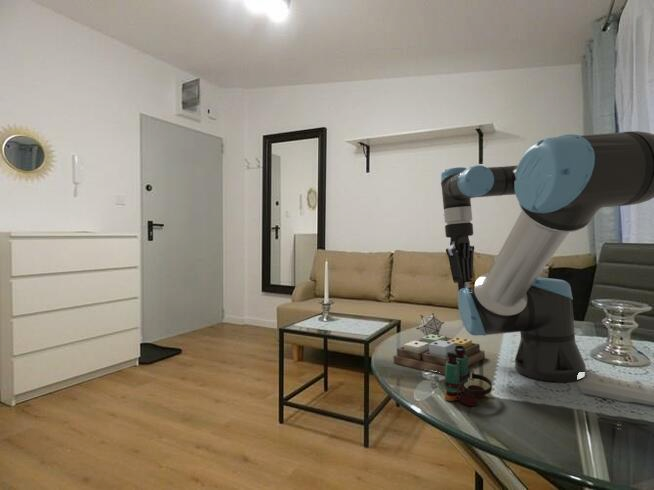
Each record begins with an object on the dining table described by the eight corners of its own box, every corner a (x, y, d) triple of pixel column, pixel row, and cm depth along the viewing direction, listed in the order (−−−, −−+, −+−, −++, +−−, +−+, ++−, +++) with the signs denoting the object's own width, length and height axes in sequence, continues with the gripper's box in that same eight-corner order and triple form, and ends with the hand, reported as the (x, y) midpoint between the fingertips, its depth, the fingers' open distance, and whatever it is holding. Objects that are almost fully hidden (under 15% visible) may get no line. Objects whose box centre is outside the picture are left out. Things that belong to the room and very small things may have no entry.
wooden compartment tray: (484, 357, 108) (483, 343, 108) (450, 376, 96) (449, 360, 96) (430, 347, 122) (429, 335, 121) (393, 362, 110) (392, 349, 110)
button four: (472, 350, 108) (471, 339, 108) (463, 354, 105) (462, 343, 105) (456, 347, 112) (455, 336, 112) (447, 351, 109) (446, 340, 109)
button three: (445, 346, 115) (445, 335, 114) (436, 350, 111) (435, 339, 111) (431, 343, 118) (430, 333, 118) (422, 347, 115) (421, 337, 115)
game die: (436, 348, 133) (445, 329, 127) (412, 340, 134) (420, 320, 128) (439, 330, 140) (447, 311, 134) (416, 322, 141) (423, 303, 135)
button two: (456, 353, 103) (455, 341, 102) (446, 358, 99) (445, 346, 99) (440, 350, 106) (439, 339, 106) (429, 355, 103) (428, 343, 103)
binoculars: (485, 363, 76) (437, 352, 82) (484, 415, 76) (436, 400, 83) (498, 351, 82) (453, 341, 89) (497, 398, 83) (452, 385, 90)
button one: (429, 353, 109) (428, 342, 109) (419, 358, 106) (418, 346, 106) (415, 350, 113) (414, 339, 113) (404, 354, 109) (403, 343, 109)
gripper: (457, 224, 117) (463, 301, 117) (434, 224, 108) (441, 308, 108) (481, 221, 112) (487, 302, 111) (460, 221, 102) (467, 309, 102)
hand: (465, 305), depth 110 cm, fingers closed
